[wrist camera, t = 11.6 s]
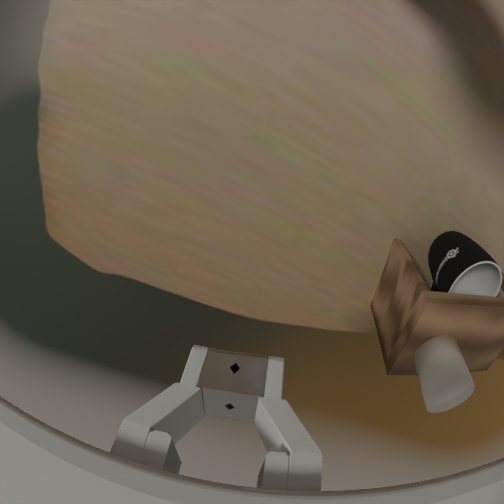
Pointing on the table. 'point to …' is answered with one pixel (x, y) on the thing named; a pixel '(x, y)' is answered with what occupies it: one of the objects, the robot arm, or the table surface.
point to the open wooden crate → (432, 317)
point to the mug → (463, 266)
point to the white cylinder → (442, 373)
